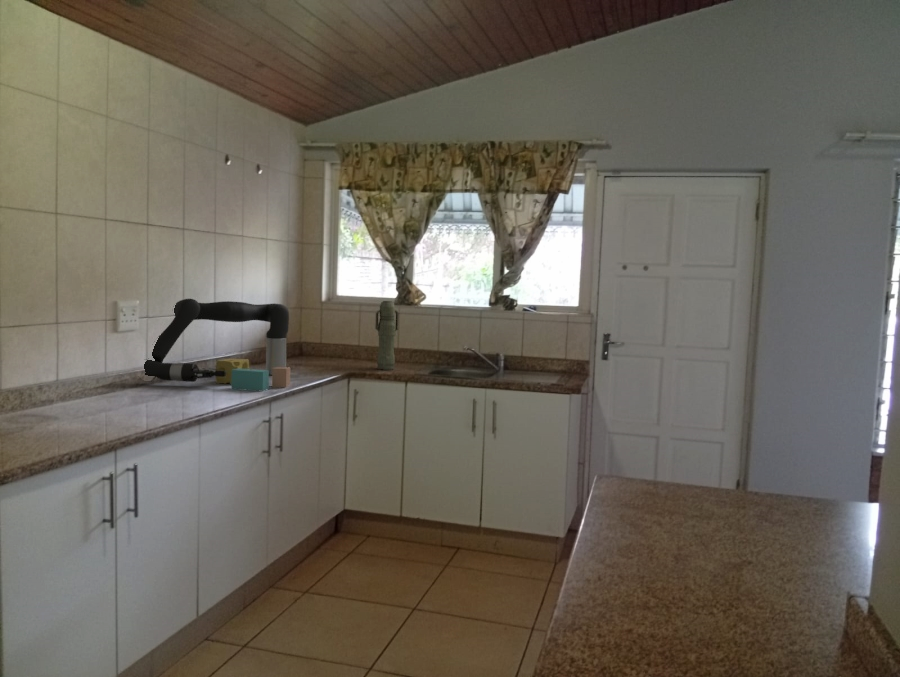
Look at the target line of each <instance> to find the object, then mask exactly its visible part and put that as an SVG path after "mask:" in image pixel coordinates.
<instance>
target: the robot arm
mask: <svg viewBox="0 0 900 677" xmlns="http://www.w3.org/2000/svg"><path fill="white" fill-rule="evenodd" d="M175 304H176V305H175ZM175 304H174V305H175V308H174V313H175V315H174V317H173V319H172V321H171V322H170V323H169V325H168V326H167V327H166V328H165V329H164V330H163V331H162V332H161V333H160V334H161V335H160V334H159V335H158V337H159V338H158V337H157V338H158V340H157V342H156V344H155V346H154V349H153V352H152V356H153V358H154V359H155V361H152V360H148V359H146V360H147V361H146V362H145V364H144V369H145V372H146V373H145V375H148V376H155V378H158V379H159V380H162V381H176V382H192V383H193V382H196V381H197V380H198V379H209V378H216V376H218V377H224V376H226V371H217V369H216V368H212V367H208V368H206V367H200V368H199V366H198V365H197V363H191V362H190V363H188V362H177V363H176V362H175V363H174V362H173V363H172V362H166V363H165V362H163V361H164V359H166V357H167V356H168V354H169V352H171V349H172V348H173V346H174V345H175V344H176V342H177V341H178V339H179V338H180V336H181V335H182V334H183V333H184V331H185V330H186V329H187V328H188V327H189V326H190V324H192V323H193V322H194V321H198V320H199V321H201V320H205V321H207V320H209V321H215V322H226V323H227V322H229V323H231V322H232V323H243V322H250V321H251V322H252V321H260V322H267V323H270V324H269V329H268V330H267V331H266V336H265V337H266V340H265V341H266V344H265V345H266V348H265V354H266V355H265V356H266V357H265V370H269V376H272V368H275V367H287V336H288V332H289V324H290V323H289V322H290V321H289V320H290V314H289V309H288V307H287V306H286V305H284V304H281V303H264V304H262V303H261V304H253V303H250V302H249V303H248V302H242V301H232V300H231V301H229V300H228V301H215V302H198V300H196V299H193V298H185V299H181V300H179V301H177V302H176V303H175Z"/></svg>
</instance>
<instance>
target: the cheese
mask: <svg viewBox="0 0 900 677" xmlns="http://www.w3.org/2000/svg"><path fill="white" fill-rule="evenodd" d="M215 364H216V365H215V369H217V371H226V376H224V377H218V376H216V377H215V378H216V379H215V380H216V381H215V382H216V384H219V383H224V384H223V385H225V384H226V383H230V385H231V379H232V370H233V369H237V368H239V369H250V360H249V359H248V358H246V359H245V358H238V359H237V358H224V359H220V360H216V363H215Z"/></svg>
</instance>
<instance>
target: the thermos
mask: <svg viewBox="0 0 900 677" xmlns="http://www.w3.org/2000/svg"><path fill="white" fill-rule="evenodd" d="M374 325H375V327H374V329H375V330H376V331H377V335H378V336H377V337H378V353H377V361H376V363H377V368H378V369H377V368H376V369H377V370H380V369H383V370H382V371H391V370H392V369H393V370H395V359H396V358H395V357H396V356H395V352H394V351H395V336H396V331H398V330H399V312H398V310H396V306H395V303H394V302H393V301H389V300H383V301H382V302H381V303H380V305H379V310H377V311H376V312H375V324H374Z"/></svg>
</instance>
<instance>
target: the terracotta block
mask: <svg viewBox="0 0 900 677" xmlns="http://www.w3.org/2000/svg"><path fill="white" fill-rule="evenodd" d="M271 380H272V381H271V382H272V384H271V387H272V386H273V387H272V388H276V387H287V388H289V387H290V386H291V367H289V366H288V367H287V366H286V367H275V368H272V375H271ZM289 385H290V386H289ZM288 386H289V387H288Z"/></svg>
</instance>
